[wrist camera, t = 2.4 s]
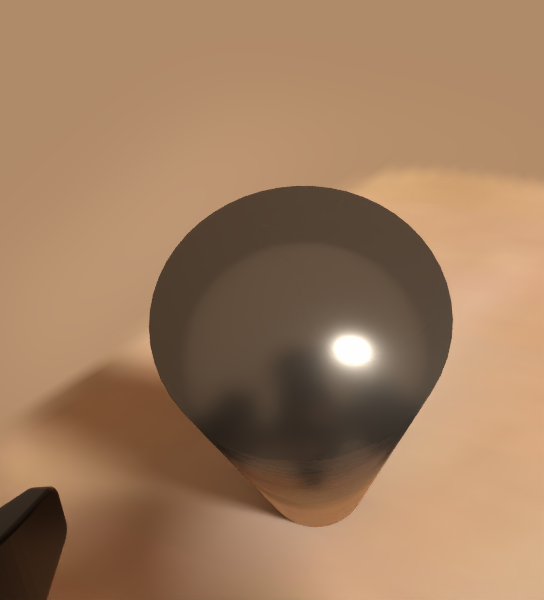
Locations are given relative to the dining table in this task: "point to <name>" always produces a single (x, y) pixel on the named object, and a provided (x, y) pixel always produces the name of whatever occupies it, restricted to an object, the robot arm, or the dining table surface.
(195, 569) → the dining table surface
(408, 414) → the peg
